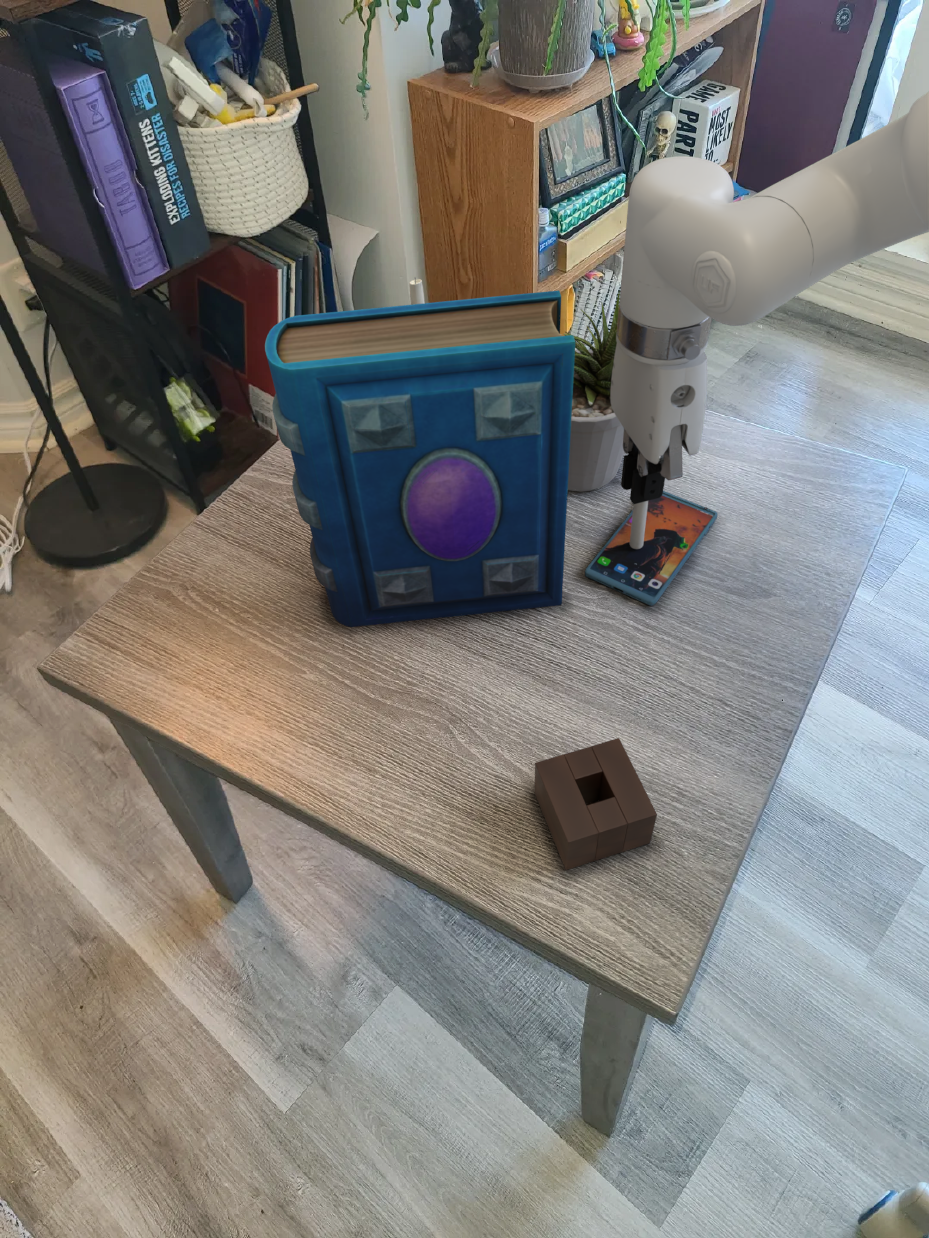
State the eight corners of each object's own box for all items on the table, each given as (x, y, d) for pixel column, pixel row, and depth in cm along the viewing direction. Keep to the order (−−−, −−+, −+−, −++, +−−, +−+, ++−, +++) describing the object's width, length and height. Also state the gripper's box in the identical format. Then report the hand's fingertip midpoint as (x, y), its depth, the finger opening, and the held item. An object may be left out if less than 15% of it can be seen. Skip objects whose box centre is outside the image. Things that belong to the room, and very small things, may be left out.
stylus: (640, 538, 94) (650, 440, 84) (645, 547, 93) (656, 449, 83) (627, 541, 94) (636, 444, 84) (632, 550, 93) (642, 453, 83)
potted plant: (617, 522, 97) (634, 364, 82) (505, 484, 102) (502, 328, 87) (661, 455, 104) (685, 297, 88) (554, 422, 109) (559, 267, 93)
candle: (397, 391, 114) (383, 278, 102) (427, 373, 116) (416, 260, 104) (425, 408, 112) (413, 294, 100) (455, 389, 114) (447, 275, 102)
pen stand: (614, 768, 78) (619, 737, 74) (650, 843, 73) (657, 814, 69) (534, 792, 77) (534, 762, 73) (565, 870, 72) (568, 842, 68)
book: (322, 641, 89) (253, 384, 65) (322, 576, 94) (259, 318, 71) (564, 616, 89) (580, 353, 66) (550, 553, 95) (560, 290, 72)
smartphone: (582, 571, 92) (651, 484, 99) (582, 579, 93) (650, 494, 100) (654, 601, 88) (720, 510, 96) (653, 610, 89) (719, 519, 97)
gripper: (751, 366, 69) (713, 536, 83) (664, 269, 79) (643, 436, 93) (662, 387, 68) (638, 555, 82) (585, 286, 78) (575, 452, 92)
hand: (641, 491), depth 88 cm, fingers closed on stylus, 1 cm apart
